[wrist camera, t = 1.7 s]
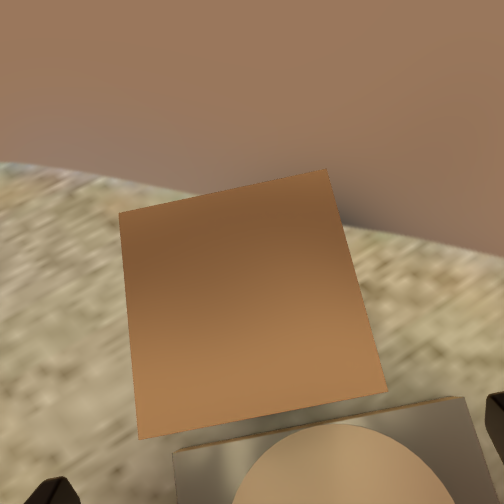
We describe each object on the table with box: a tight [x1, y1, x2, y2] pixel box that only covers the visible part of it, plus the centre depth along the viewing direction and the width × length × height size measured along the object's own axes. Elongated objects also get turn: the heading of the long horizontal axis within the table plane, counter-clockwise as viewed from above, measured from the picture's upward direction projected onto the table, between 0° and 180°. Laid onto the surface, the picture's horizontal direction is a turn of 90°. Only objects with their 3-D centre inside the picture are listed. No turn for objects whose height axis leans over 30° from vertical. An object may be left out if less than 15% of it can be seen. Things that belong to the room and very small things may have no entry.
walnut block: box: [119, 169, 388, 440], centre depth 14 cm, size 4×4×12 cm
